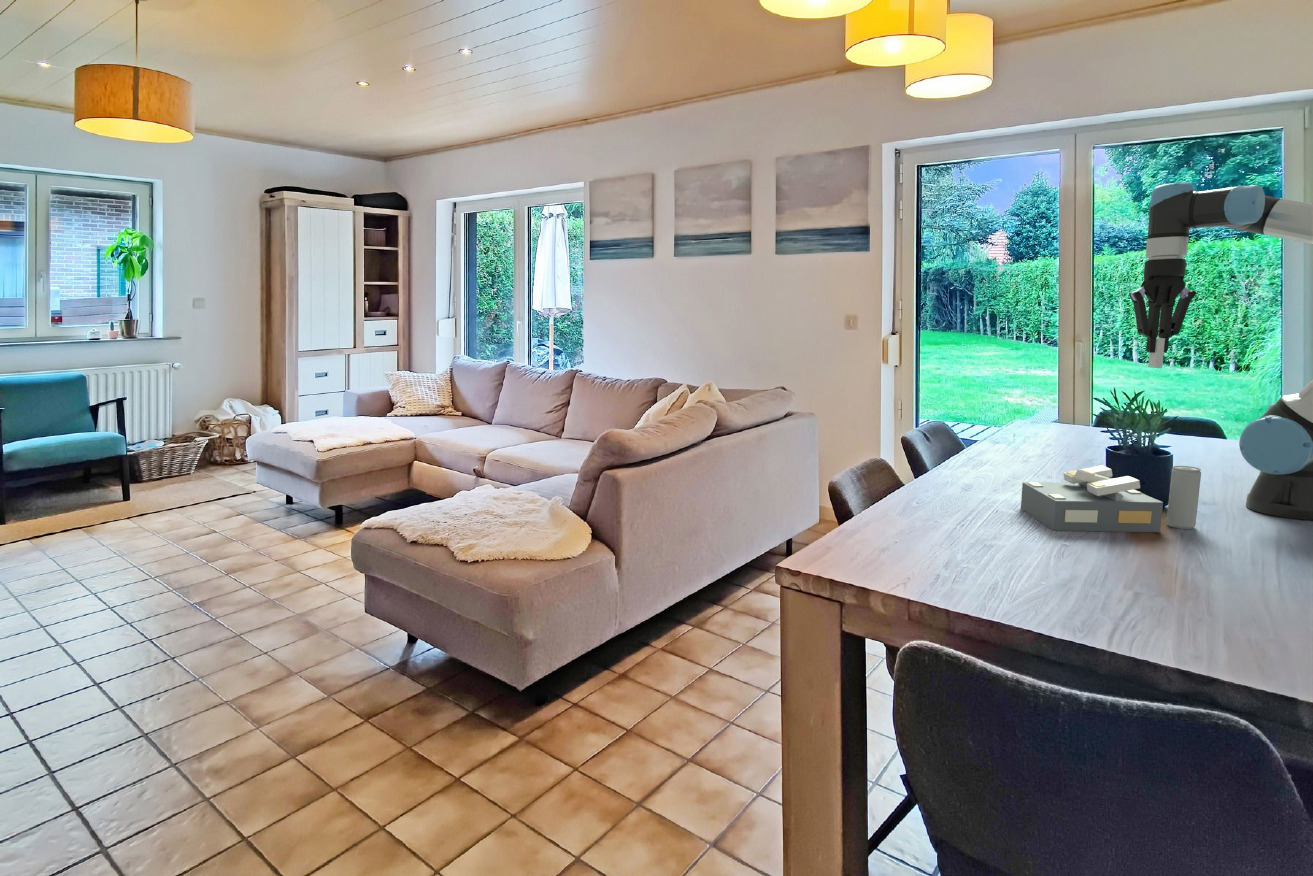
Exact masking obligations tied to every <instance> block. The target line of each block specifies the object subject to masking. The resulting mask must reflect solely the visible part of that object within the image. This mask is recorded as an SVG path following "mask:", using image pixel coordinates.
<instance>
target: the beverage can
mask: <svg viewBox="0 0 1313 876" xmlns="http://www.w3.org/2000/svg"><path fill="white" fill-rule="evenodd" d="M1201 469H1202V468H1199V467H1195V466H1189V465H1173V466H1172V469H1171V474H1170V475H1171V476H1170V484H1169V485H1170V486H1169V494H1168V505H1167V513H1166V524H1167V526H1169V527H1170V528H1174V529H1178V530H1179V529H1180V530H1192V529H1194V528H1195V527H1196V524H1197V514H1198V505H1199V497H1200V489H1201V487H1200V486H1201V479H1202V478H1201V477H1202V470H1201Z"/></svg>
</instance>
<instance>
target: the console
mask: <svg viewBox="0 0 1313 876" xmlns="http://www.w3.org/2000/svg"><path fill="white" fill-rule="evenodd" d="M1087 483H1090V482H1087V481H1086V482H1081V483H1076V484H1072V483H1070V482H1043V481H1041V482H1040V481H1039V482H1037V481H1035V482H1031V481H1029V482H1028V481H1026V482H1025V481H1022V484H1021V485H1022V486H1021V487H1022V488H1021V498H1020V499H1021V500H1020V509H1021V510H1022V511H1023V512H1025V513H1026V514H1028V515H1029V516H1031V517H1032V518H1033V519H1036V520H1037V521H1038V522H1040V523H1042V524H1043V525H1044V526H1045V527H1047V528H1049V529H1051V530H1052V531H1059V532H1060V531H1067V532H1074V531H1075V532H1077V531H1078V532H1125V533H1128V532H1129V533H1133V532H1134V533H1135V532H1136V533H1161V527H1162V517H1163V509H1164V508H1163V506H1164V502H1163V501H1161V500H1159V499H1157V498H1154V497H1151V496H1149V495H1147V494H1145V493H1143V492H1141V491H1138V490H1137V489H1133V490H1128V491H1122V492H1117V493H1111V494H1106V495H1100V496H1097V495H1095V494H1093V493H1091V492H1089V491H1088V490H1087Z"/></svg>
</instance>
